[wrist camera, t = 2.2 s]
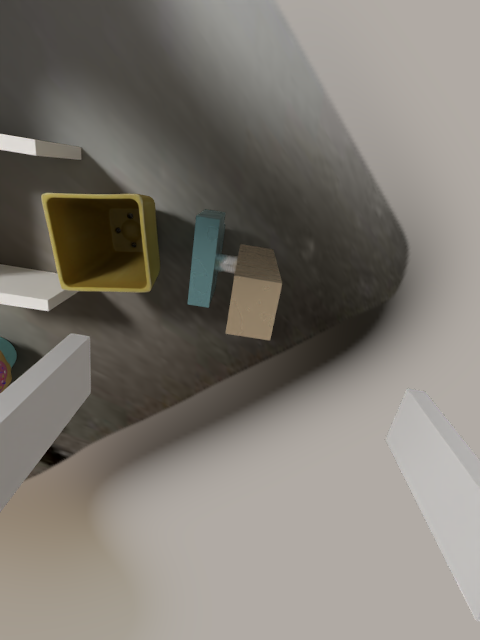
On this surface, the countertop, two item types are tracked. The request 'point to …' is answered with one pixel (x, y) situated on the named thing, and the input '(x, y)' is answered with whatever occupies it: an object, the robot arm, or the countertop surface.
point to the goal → (21, 282)
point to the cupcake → (6, 362)
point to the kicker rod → (235, 278)
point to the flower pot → (103, 241)
